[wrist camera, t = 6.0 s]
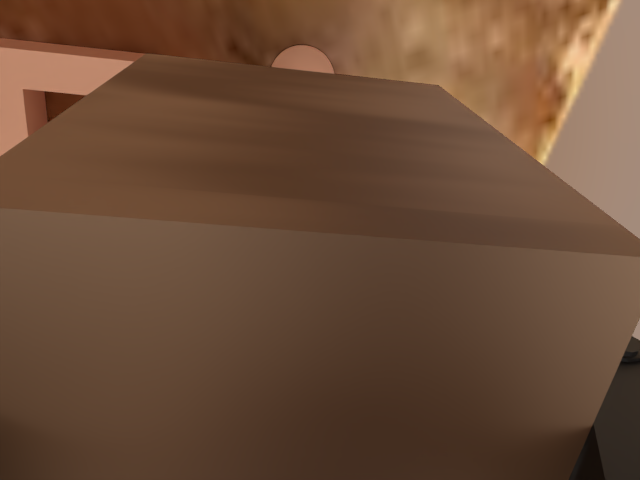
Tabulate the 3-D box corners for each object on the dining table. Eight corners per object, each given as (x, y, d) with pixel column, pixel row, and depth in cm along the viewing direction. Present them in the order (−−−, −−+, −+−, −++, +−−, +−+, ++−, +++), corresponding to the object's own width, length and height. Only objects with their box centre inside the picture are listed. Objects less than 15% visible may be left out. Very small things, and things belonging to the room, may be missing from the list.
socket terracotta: (20, 183, 36) (-1, 201, 34) (2, 38, 32) (-24, 44, 30) (161, 195, 37) (152, 213, 34) (160, 55, 33) (150, 63, 31)
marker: (266, 108, 35) (266, 108, 35) (272, 41, 33) (271, 41, 33) (330, 114, 35) (330, 115, 35) (338, 48, 34) (338, 49, 34)
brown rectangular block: (150, 306, 16) (24, 654, 8) (146, 52, 13) (-67, 202, 5) (389, 321, 17) (493, 650, 9) (438, 85, 14) (664, 258, 6)
